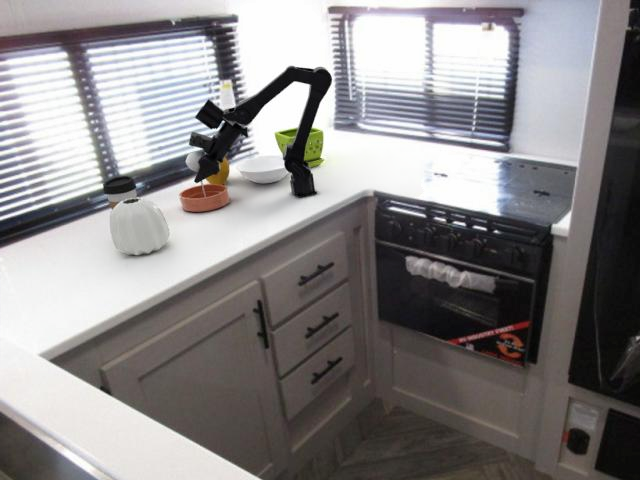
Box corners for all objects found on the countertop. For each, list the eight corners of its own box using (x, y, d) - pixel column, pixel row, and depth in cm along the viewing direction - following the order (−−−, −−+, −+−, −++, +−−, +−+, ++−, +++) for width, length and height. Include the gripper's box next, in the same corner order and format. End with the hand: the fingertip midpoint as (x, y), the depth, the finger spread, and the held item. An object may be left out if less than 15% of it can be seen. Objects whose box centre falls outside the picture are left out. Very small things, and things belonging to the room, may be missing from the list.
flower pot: (312, 158, 221) (307, 124, 215) (328, 165, 210) (324, 130, 204) (278, 165, 214) (272, 131, 208) (293, 173, 204) (288, 137, 198)
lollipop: (198, 204, 175) (185, 156, 168) (193, 199, 179) (181, 152, 172) (218, 199, 178) (207, 151, 170) (213, 195, 182) (201, 148, 175)
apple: (210, 180, 203) (202, 147, 197) (236, 179, 202) (229, 145, 196) (199, 188, 195) (191, 154, 189) (227, 188, 194) (219, 153, 188)
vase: (118, 264, 143) (101, 214, 136) (117, 245, 154) (102, 197, 148) (175, 252, 148) (162, 203, 141) (170, 234, 159) (158, 188, 152)
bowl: (306, 181, 195) (304, 162, 192) (251, 194, 186) (248, 175, 183) (282, 169, 210) (280, 152, 207) (230, 181, 200) (227, 163, 197)
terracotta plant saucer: (223, 194, 188) (220, 181, 186) (235, 206, 177) (232, 192, 175) (178, 204, 182) (174, 190, 180) (188, 216, 171) (184, 202, 169)
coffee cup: (155, 226, 165) (140, 176, 158) (134, 238, 158) (118, 185, 151) (132, 224, 168) (116, 174, 160) (110, 236, 161) (93, 184, 153)
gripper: (204, 116, 176) (176, 155, 180) (197, 128, 160) (167, 172, 163) (235, 138, 181) (208, 177, 184) (232, 153, 164) (202, 195, 168)
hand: (196, 179), depth 175 cm, fingers closed on lollipop, 5 cm apart
